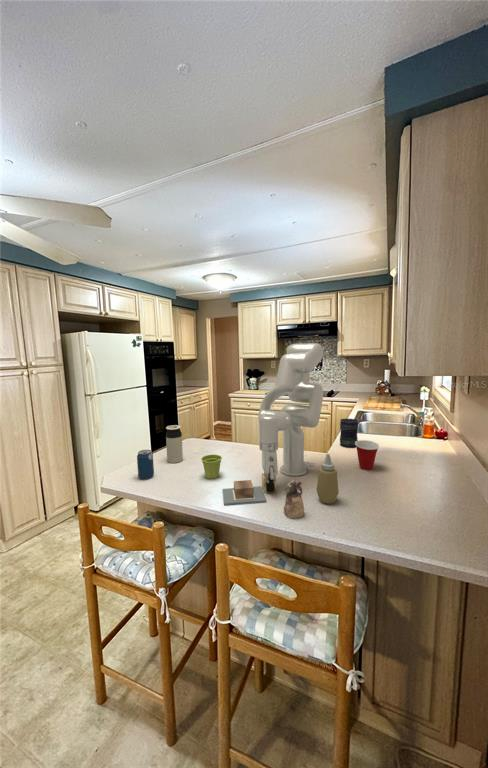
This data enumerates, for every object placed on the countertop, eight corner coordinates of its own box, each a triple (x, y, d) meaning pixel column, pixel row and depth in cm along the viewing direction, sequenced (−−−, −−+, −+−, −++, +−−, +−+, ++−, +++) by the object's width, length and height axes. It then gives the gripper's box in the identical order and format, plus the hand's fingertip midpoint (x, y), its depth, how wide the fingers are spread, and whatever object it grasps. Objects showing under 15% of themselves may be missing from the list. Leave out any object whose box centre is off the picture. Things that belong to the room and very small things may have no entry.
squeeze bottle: (322, 493, 123) (322, 449, 120) (341, 499, 117) (342, 453, 115) (312, 501, 116) (313, 455, 114) (333, 508, 111) (333, 460, 109)
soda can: (157, 475, 142) (155, 450, 141) (145, 481, 136) (143, 455, 135) (147, 472, 146) (145, 448, 145) (135, 478, 140) (133, 452, 139)
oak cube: (273, 486, 129) (273, 472, 129) (276, 492, 124) (276, 477, 124) (262, 487, 129) (261, 473, 128) (264, 493, 124) (264, 478, 123)
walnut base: (251, 489, 125) (251, 479, 125) (253, 497, 118) (253, 487, 118) (233, 490, 124) (233, 481, 124) (235, 499, 117) (235, 489, 117)
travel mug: (175, 464, 156) (173, 429, 154) (163, 461, 160) (162, 427, 158) (186, 459, 163) (184, 426, 160) (174, 456, 167) (173, 424, 165)
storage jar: (345, 441, 187) (346, 417, 185) (360, 445, 180) (361, 420, 178) (336, 445, 181) (336, 420, 179) (351, 449, 173) (352, 423, 172)
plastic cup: (359, 472, 141) (360, 447, 140) (350, 464, 152) (351, 440, 151) (383, 472, 142) (383, 446, 140) (372, 463, 152) (373, 439, 151)
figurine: (286, 506, 113) (286, 475, 111) (305, 510, 110) (305, 478, 109) (281, 516, 106) (281, 483, 105) (301, 520, 104) (302, 486, 102)
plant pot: (219, 481, 135) (218, 462, 134) (198, 480, 137) (198, 461, 136) (224, 472, 144) (224, 455, 143) (205, 471, 146) (205, 453, 145)
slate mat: (261, 488, 128) (261, 485, 128) (266, 502, 116) (266, 500, 116) (222, 490, 126) (222, 488, 126) (224, 505, 114) (224, 503, 114)
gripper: (282, 451, 116) (283, 497, 118) (273, 438, 133) (273, 479, 135) (263, 453, 115) (263, 499, 118) (256, 439, 132) (256, 480, 134)
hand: (269, 487), depth 126 cm, fingers closed on oak cube, 5 cm apart
